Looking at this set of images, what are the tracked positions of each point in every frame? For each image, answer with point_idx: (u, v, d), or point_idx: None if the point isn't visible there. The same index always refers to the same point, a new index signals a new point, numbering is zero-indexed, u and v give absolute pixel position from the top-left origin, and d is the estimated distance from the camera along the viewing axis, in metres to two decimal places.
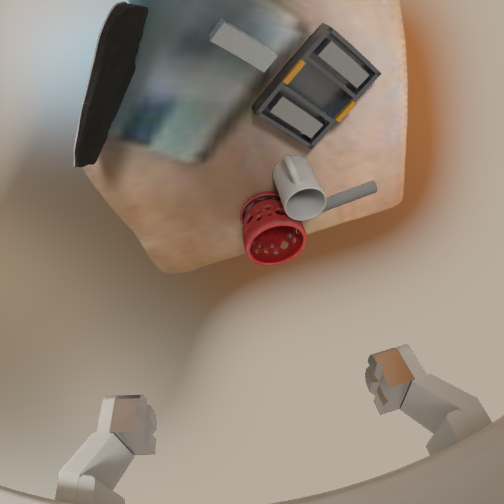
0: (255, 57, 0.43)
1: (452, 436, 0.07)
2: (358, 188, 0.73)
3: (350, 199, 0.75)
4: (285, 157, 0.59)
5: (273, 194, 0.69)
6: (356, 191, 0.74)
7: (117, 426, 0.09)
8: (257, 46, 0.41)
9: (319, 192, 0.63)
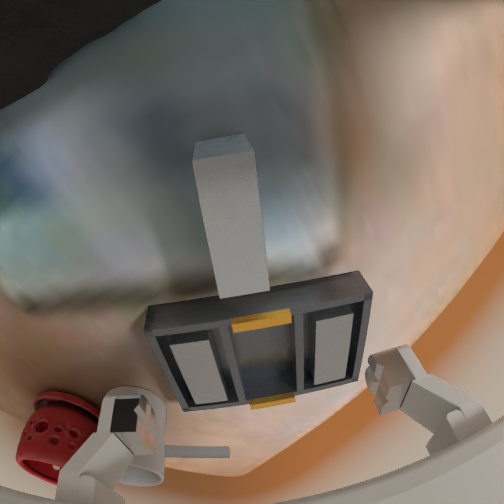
0: (233, 264, 0.22)
1: (452, 436, 0.07)
2: (202, 450, 0.45)
3: (186, 457, 0.45)
4: None
5: (92, 412, 0.36)
6: (198, 452, 0.45)
7: (117, 425, 0.09)
8: (257, 250, 0.21)
9: None
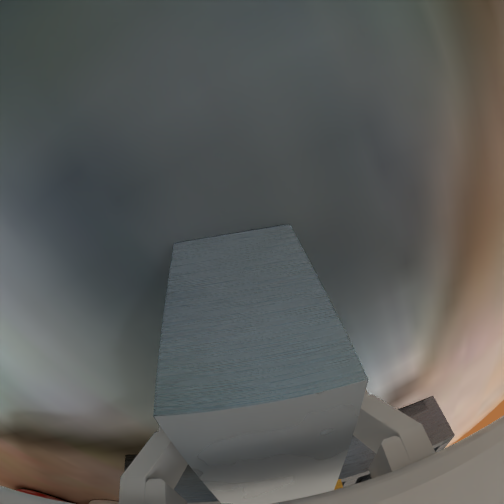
0: None
1: (386, 464, 0.07)
2: None
3: None
4: None
5: None
6: None
7: None
8: (318, 492, 0.08)
9: None
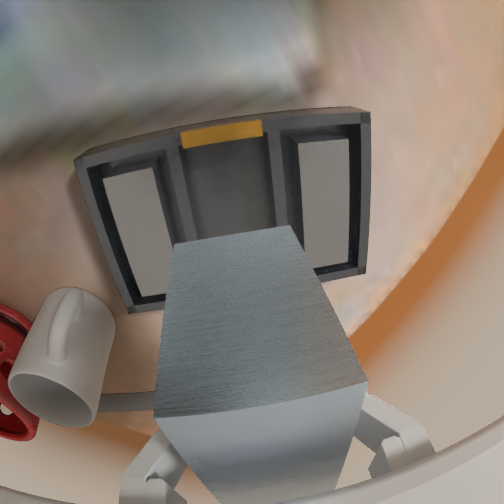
0: None
1: (386, 464, 0.07)
2: None
3: (149, 408, 0.37)
4: (69, 293, 0.23)
5: (28, 328, 0.28)
6: None
7: None
8: (318, 493, 0.08)
9: None
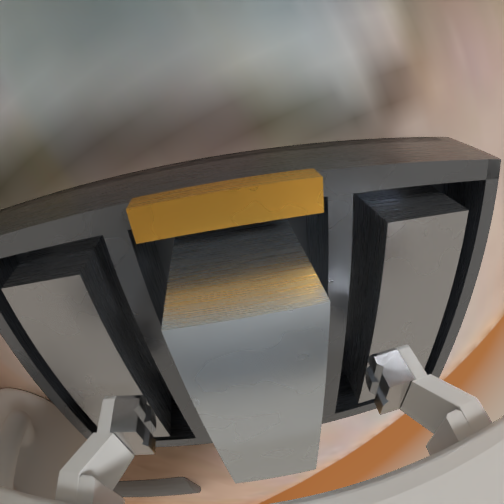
0: (260, 458, 0.10)
1: (452, 436, 0.07)
2: (148, 486, 0.25)
3: (137, 496, 0.26)
4: (6, 426, 0.12)
5: None
6: (145, 489, 0.25)
7: (117, 426, 0.09)
8: (305, 441, 0.10)
9: None
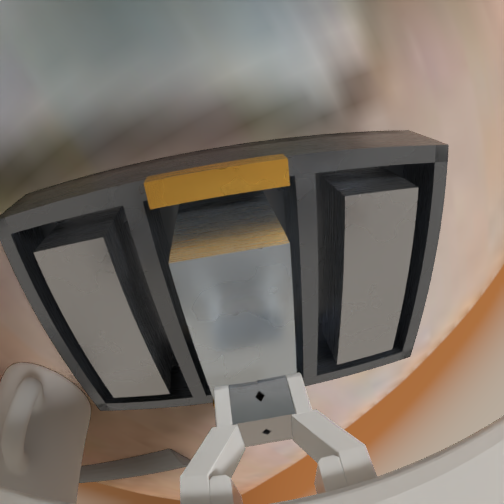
0: None
1: (322, 484, 0.07)
2: (141, 461, 0.27)
3: (135, 475, 0.28)
4: (21, 389, 0.14)
5: None
6: (138, 465, 0.27)
7: (240, 416, 0.09)
8: None
9: None
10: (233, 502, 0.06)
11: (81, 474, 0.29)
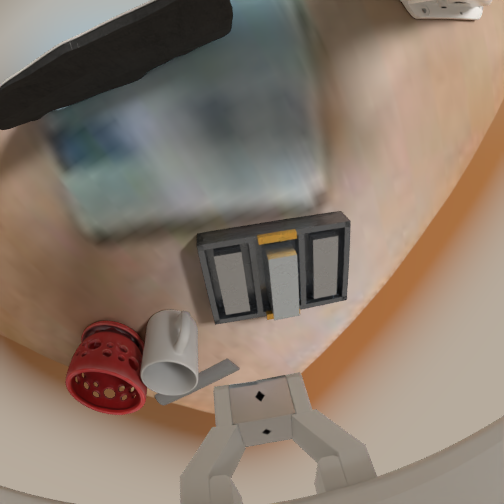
0: (283, 303, 0.44)
1: (322, 484, 0.07)
2: (210, 371, 0.58)
3: (206, 383, 0.59)
4: (184, 314, 0.45)
5: (136, 336, 0.50)
6: (208, 374, 0.58)
7: (240, 416, 0.09)
8: (294, 297, 0.43)
9: (189, 373, 0.47)
10: (233, 502, 0.06)
11: None
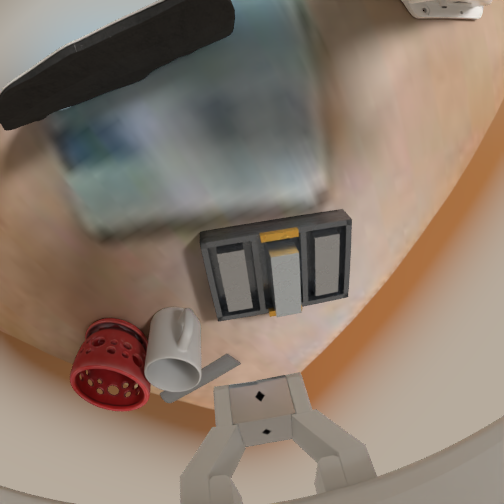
0: (285, 301, 0.44)
1: (322, 484, 0.07)
2: (211, 367, 0.58)
3: (208, 379, 0.59)
4: (187, 311, 0.46)
5: (140, 333, 0.50)
6: (210, 370, 0.58)
7: (240, 416, 0.09)
8: (296, 294, 0.44)
9: (192, 369, 0.48)
10: (233, 502, 0.06)
11: (173, 392, 0.61)
